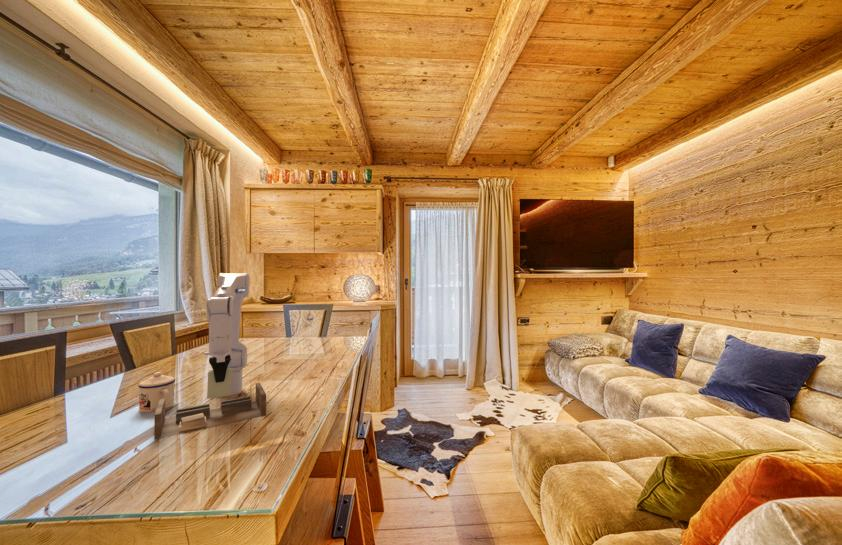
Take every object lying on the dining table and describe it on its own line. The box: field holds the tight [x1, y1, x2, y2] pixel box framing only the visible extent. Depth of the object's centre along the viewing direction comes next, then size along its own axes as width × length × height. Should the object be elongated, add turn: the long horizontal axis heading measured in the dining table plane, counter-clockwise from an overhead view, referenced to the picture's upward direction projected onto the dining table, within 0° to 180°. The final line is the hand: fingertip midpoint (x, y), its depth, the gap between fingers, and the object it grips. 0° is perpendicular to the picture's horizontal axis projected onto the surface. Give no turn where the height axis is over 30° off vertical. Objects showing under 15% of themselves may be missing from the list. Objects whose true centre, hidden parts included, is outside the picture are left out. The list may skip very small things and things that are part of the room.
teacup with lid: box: [138, 371, 176, 413], centre depth 104 cm, size 12×9×12 cm
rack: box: [153, 382, 267, 440], centre depth 96 cm, size 14×26×7 cm, turn 124°
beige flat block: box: [206, 368, 231, 400], centre depth 100 cm, size 2×6×8 cm, turn 123°
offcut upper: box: [181, 413, 205, 427], centre depth 90 cm, size 3×5×1 cm
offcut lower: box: [179, 417, 206, 432], centre depth 90 cm, size 4×6×1 cm, turn 124°
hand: (219, 381), depth 100 cm, fingers closed on beige flat block, 1 cm apart
